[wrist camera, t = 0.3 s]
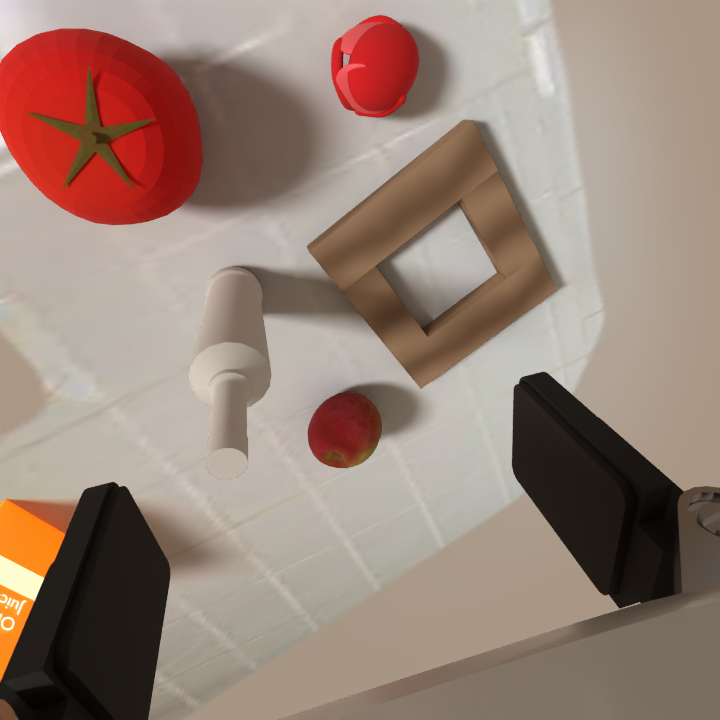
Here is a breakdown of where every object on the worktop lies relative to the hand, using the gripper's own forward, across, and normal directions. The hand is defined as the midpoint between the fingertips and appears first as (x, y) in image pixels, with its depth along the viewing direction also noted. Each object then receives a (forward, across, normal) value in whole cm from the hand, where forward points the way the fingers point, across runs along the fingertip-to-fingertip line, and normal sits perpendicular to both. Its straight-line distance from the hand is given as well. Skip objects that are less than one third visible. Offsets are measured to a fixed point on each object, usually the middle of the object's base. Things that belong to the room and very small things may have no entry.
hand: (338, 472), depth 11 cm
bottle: (+36, +5, +7) cm, 37 cm away
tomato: (+36, +9, -8) cm, 37 cm away
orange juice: (+36, +36, +30) cm, 59 cm away
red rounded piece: (+36, -10, -9) cm, 38 cm away
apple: (+36, -2, +24) cm, 43 cm away
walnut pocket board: (+35, -15, +9) cm, 39 cm away
